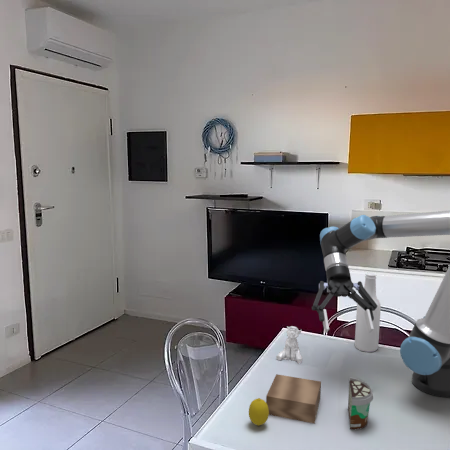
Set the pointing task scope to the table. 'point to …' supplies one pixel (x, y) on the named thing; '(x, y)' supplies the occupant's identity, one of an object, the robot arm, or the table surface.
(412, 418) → the table surface
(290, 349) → the white creature statuette
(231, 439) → the table surface
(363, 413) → the food container
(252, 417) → the lemon
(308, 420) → the square wooden plinth
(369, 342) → the alcohol
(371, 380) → the table surface
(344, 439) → the table surface
